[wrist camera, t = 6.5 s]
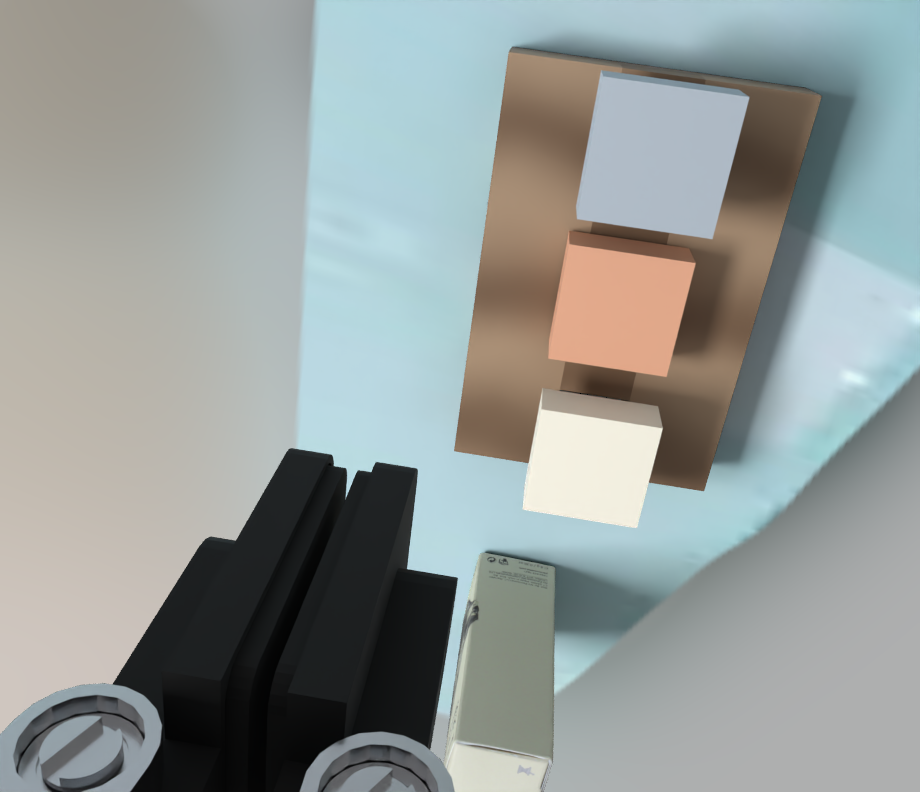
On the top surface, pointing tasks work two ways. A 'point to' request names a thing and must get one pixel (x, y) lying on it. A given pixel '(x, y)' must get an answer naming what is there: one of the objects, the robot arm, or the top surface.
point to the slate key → (659, 153)
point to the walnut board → (554, 214)
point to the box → (504, 680)
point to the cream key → (591, 457)
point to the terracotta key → (620, 303)
